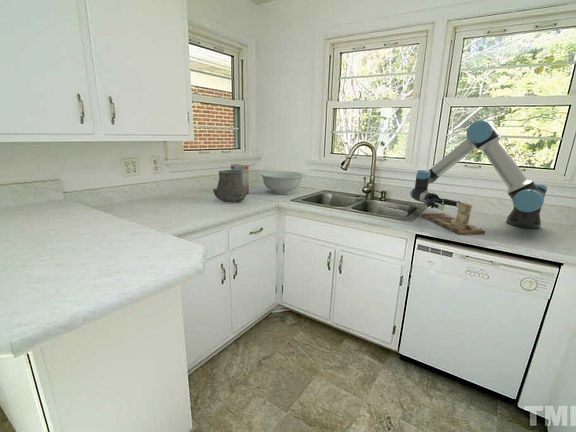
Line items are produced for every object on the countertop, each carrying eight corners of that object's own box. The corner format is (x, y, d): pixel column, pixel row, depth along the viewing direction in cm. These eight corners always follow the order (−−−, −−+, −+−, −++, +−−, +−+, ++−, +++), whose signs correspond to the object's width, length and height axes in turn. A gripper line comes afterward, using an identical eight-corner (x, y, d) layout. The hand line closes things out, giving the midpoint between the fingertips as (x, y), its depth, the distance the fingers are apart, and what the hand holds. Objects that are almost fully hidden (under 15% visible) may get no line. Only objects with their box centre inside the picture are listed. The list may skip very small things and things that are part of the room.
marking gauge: (459, 223, 155) (463, 201, 152) (474, 230, 145) (480, 206, 142) (450, 223, 154) (455, 201, 151) (466, 230, 144) (471, 207, 141)
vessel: (225, 207, 178) (224, 174, 172) (209, 200, 193) (207, 170, 188) (254, 202, 191) (254, 172, 186) (237, 196, 207) (236, 168, 202)
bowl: (260, 188, 238) (260, 170, 234) (299, 188, 242) (300, 171, 237) (261, 197, 207) (261, 176, 203) (305, 197, 211) (306, 177, 207)
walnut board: (420, 215, 173) (421, 213, 172) (442, 215, 175) (442, 212, 174) (459, 234, 142) (460, 231, 142) (484, 233, 145) (485, 230, 144)
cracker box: (249, 193, 216) (249, 165, 210) (242, 194, 212) (242, 166, 206) (237, 190, 225) (236, 163, 219) (230, 191, 221) (230, 164, 215)
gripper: (446, 204, 178) (473, 214, 158) (409, 204, 174) (432, 215, 154) (449, 192, 176) (476, 200, 156) (411, 192, 172) (434, 201, 152)
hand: (454, 207), depth 155 cm, fingers open, 13 cm apart
